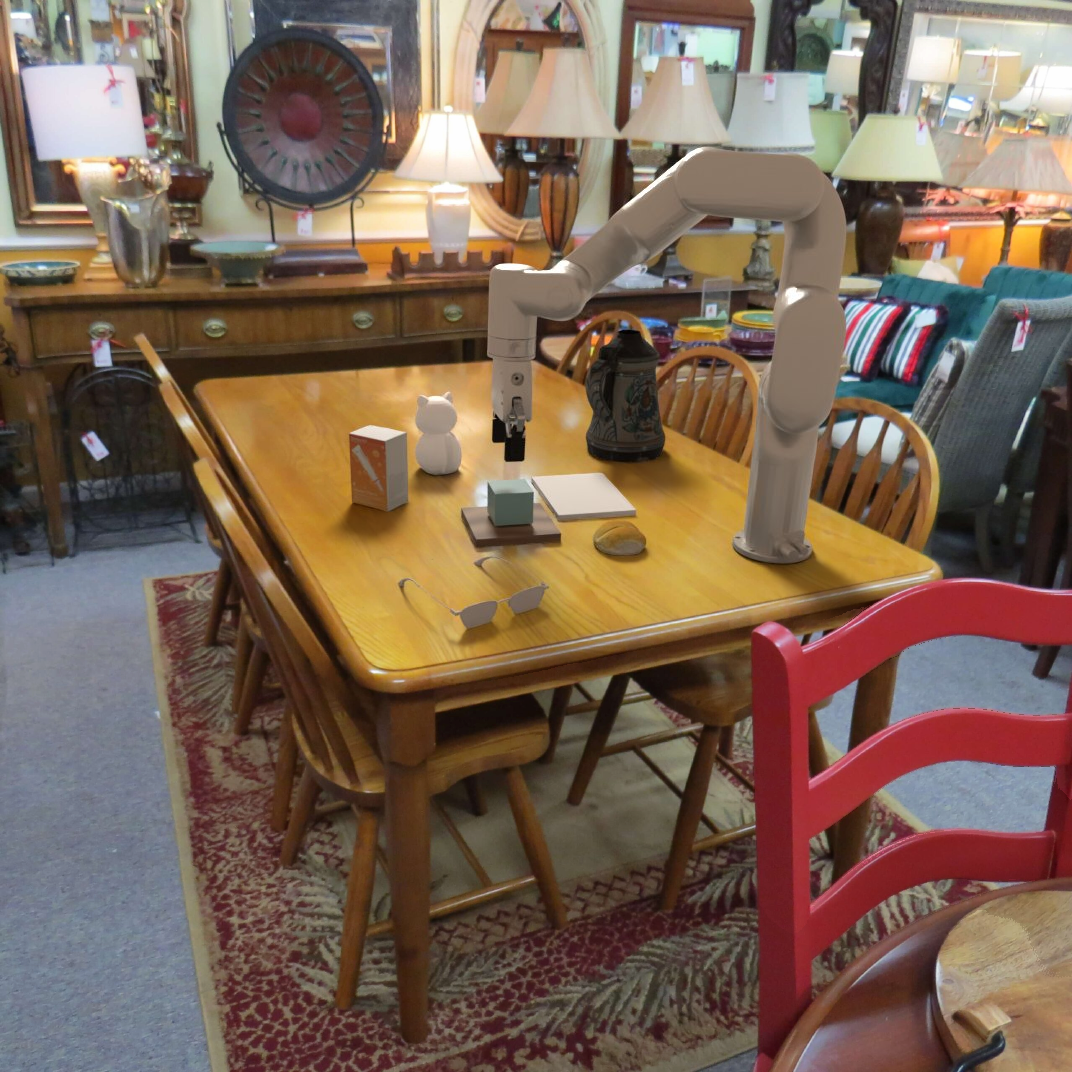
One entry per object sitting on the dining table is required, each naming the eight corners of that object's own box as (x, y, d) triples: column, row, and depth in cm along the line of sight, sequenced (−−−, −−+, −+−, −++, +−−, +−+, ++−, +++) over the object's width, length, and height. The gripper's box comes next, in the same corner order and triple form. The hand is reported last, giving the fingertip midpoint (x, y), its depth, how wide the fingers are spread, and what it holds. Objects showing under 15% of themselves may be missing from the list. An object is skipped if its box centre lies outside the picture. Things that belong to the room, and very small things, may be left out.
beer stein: (669, 443, 211) (679, 327, 201) (654, 472, 193) (664, 345, 184) (594, 436, 215) (600, 321, 205) (573, 462, 197) (578, 338, 188)
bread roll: (633, 534, 164) (635, 511, 163) (651, 555, 156) (653, 532, 155) (586, 537, 163) (587, 514, 161) (601, 558, 154) (602, 535, 153)
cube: (533, 523, 162) (533, 492, 159) (494, 525, 160) (495, 494, 158) (524, 509, 167) (524, 478, 165) (487, 511, 166) (487, 481, 164)
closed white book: (635, 515, 171) (636, 509, 171) (558, 520, 168) (558, 515, 168) (601, 477, 189) (602, 472, 189) (531, 481, 186) (531, 476, 186)
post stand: (560, 541, 160) (562, 504, 157) (476, 548, 157) (476, 510, 154) (540, 510, 172) (541, 475, 170) (461, 516, 169) (461, 480, 167)
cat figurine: (449, 459, 198) (447, 386, 192) (475, 477, 187) (474, 400, 182) (407, 465, 194) (404, 390, 188) (431, 484, 183) (429, 405, 178)
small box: (351, 503, 173) (347, 432, 168) (373, 493, 179) (370, 423, 174) (387, 512, 170) (385, 440, 165) (409, 501, 175) (407, 431, 170)
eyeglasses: (456, 636, 131) (456, 609, 129) (392, 587, 144) (391, 562, 142) (549, 608, 139) (550, 582, 138) (480, 563, 152) (480, 539, 151)
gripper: (548, 359, 146) (543, 468, 152) (522, 335, 161) (518, 435, 168) (499, 359, 144) (495, 470, 151) (477, 335, 159) (475, 436, 166)
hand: (507, 451), depth 159 cm, fingers open, 9 cm apart
